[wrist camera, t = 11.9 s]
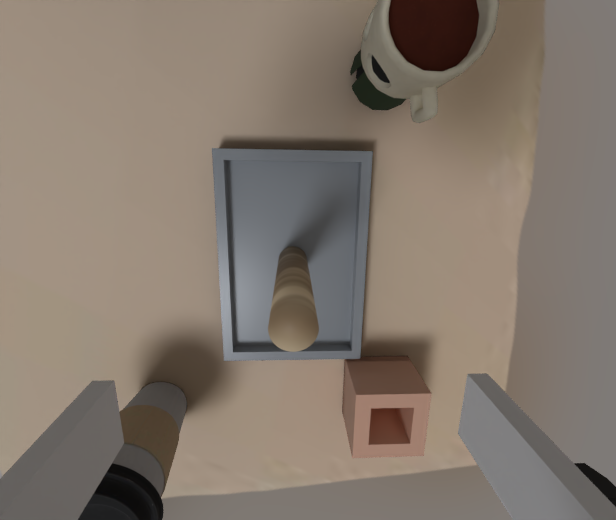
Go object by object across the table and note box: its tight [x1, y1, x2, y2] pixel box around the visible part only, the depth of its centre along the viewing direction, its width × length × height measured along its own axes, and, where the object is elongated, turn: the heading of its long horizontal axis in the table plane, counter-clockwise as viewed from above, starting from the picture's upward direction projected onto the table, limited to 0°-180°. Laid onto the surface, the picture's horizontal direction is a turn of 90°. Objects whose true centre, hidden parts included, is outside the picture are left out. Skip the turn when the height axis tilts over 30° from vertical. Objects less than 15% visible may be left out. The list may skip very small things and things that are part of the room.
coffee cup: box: [78, 382, 187, 520], centre depth 32 cm, size 9×9×15 cm
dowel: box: [268, 246, 319, 352], centre depth 27 cm, size 3×3×16 cm
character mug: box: [350, 0, 499, 123], centre depth 26 cm, size 11×7×13 cm, turn 9°
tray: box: [212, 148, 373, 361], centre depth 35 cm, size 22×15×2 cm
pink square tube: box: [342, 356, 431, 458], centre depth 37 cm, size 8×8×7 cm
